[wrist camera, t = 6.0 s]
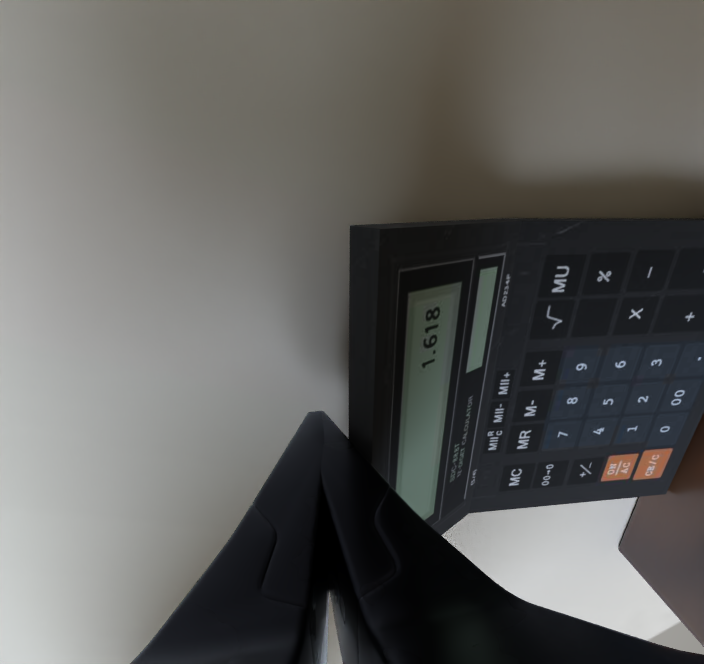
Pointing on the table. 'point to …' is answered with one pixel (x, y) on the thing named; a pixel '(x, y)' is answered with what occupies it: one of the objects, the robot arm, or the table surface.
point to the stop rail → (674, 539)
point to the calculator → (525, 359)
